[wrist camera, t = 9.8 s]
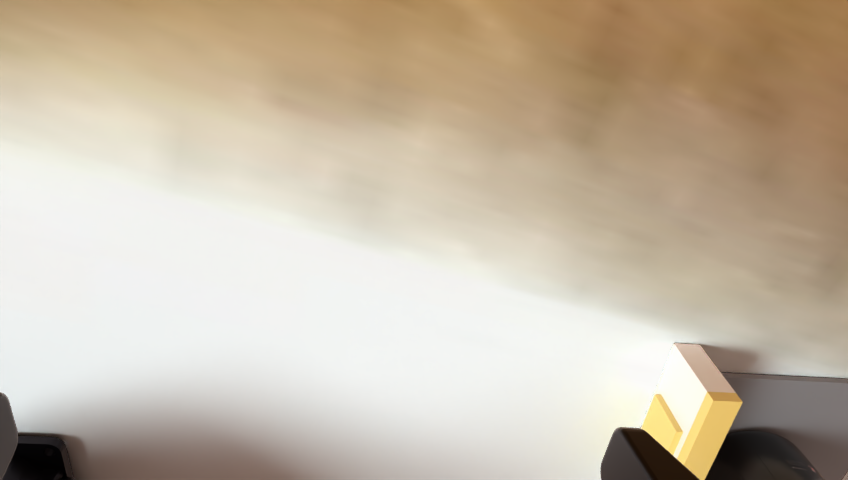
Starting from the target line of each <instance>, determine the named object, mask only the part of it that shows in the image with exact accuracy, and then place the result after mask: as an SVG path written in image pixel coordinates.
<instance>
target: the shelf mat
mask: <svg viewBox="0 0 848 480" xmlns="http://www.w3.org/2000/svg"><path fill="white" fill-rule="evenodd" d="M721 374H722V375H723V376H724V378H725V379H726V380H727V382H728V383H729V384H730V386H731V387H732V388H733V390H734V391H735V392H736V394H737V395H738V396H739V398H740V399H741V400H742V402H743V403H742V405H741V407H740V409H739V411H738V413H737V415H736V417H735V419H734V421H733V423H732V425H731V427H730V429H729V431H728V433H732V432H737V431H746V430H758V431H766V432H770V433H774V434H777V435H780V436H782V437H784V438H786V439H788V440H789V441H791V442H792V443H793V444H794V445H795V446H797V447H798V449H799V450H800V451H801V452H802V453H803V454H804V455H805V457H806V458H807V459H808V460H809V461H810V463H811V464H812V465H813V466H814V467H815V468H816V470H817V471H818V472H819V473H820V475H821V476H822V477H823V478H824V479H825V480H842V479H843V478H844V476H845V475H846V473H847V471H848V379H839V378H819V377H798V376H778V375H758V374H738V373H721ZM728 433H727V434H728Z"/></svg>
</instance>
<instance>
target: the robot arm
mask: <svg viewBox="0 0 848 480" xmlns="http://www.w3.org/2000/svg"><path fill="white" fill-rule="evenodd" d="M0 480H75V479H74V478H73V474H72V470H71V465H70V461H69V457H68V453H67V449H66V445H65V443H64V442H63V441H62V440H60V439H58V438H55V437H36V436H18V431H17V428H16V424H15V421H14V417H13V413H12V410H11V406H10V403H9V400H8V397H7V396H6V395H5V394H4V393H1V392H0ZM601 480H700V479H699V478H697V477H696V476H695V475H694V474H693V473H692V472H691V471H690V470H689V469H687V468H686V467H685V466H684V465H683V464H682V463H681V462H680V461H679V460H677V459H676V458H675V457H674V456H673V455H672V454H671V453H670V452H669V451H667V450H666V449H665V448H664V447H663V446H662V445H661V444H660V443H659V442H657V441H656V440H655V439H654V438H653V437H652V436H651V435H650V434H649V433H647V432H646V431H645V430H643V429H640V428H626V427H620V428H617V429H616V430H615V431H614V433H613V435H612V437H611V440H610V442H609V445H608V447H607V450H606V452H605V455H604V457H603V460H602V463H601Z"/></svg>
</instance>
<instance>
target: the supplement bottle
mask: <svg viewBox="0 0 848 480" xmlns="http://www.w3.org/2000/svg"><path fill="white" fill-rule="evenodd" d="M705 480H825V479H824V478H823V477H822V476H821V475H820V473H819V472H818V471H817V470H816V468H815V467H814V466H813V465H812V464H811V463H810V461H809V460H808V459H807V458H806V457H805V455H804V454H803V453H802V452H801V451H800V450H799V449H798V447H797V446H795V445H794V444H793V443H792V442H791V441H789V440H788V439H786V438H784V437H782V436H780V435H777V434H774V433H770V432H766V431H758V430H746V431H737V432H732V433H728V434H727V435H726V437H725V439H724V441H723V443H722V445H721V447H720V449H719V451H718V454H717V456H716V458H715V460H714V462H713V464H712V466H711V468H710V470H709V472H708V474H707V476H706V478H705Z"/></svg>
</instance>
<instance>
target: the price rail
mask: <svg viewBox="0 0 848 480" xmlns="http://www.w3.org/2000/svg"><path fill="white" fill-rule="evenodd" d="M742 403H743V402H742V400H741V399H740V398H739V396H738V395H737V394H736V392H735V391H734V390H733V388H732V387H731V386H730V384H729V383H728V382H727V380H726V379H725V378H724V376H723V375H722V374H721V372H720V371H719V370H718V368H717V367H716V366H715V364H714V363H713V362H712V360H711V359H710V358H709V356H708V355H707V354H706V352H705V351H704V350H703V348H702V347H701V346H700V345H698V344H680V343H674V344H673V346H672V349H671V351H670V354H669V357H668V359H667V362H666V364H665V367H664V369H663V372H662V374H661V377H660V379H659V382H658V385H657V387H656V390H655V392H654V395H653V397H652V400H651V402H650V405H649V408H648V410H647V413H646V415H645V418H644V420H643V423H642V425H641V428H640V429H643V430H645V431H646V432H647V433H649V434H650V435H651V436H652V437H653V438H654V439H655V440H656V441H657V442H659V443H660V444H661V445H662V446H663V447H664V448H665V449H666V450H667V451H669V452H670V453H671V454H672V455H673V456H674V457H675V458H676V459H677V460H679V461H680V462H681V463H682V464H683V465H684V466H685V467H686V468H687V469H689V470H690V471H691V472H692V473H693V474H694V475H695V476H696V477H697V478H699V479H700V480H705V478H706V476H707V474H708V472H709V470H710V468H711V466H712V464H713V462H714V460H715V458H716V456H717V454H718V451H719V449H720V447H721V445H722V443H723V441H724V439H725V437H726V435H727V433H728V431H729V429H730V427H731V425H732V423H733V421H734V419H735V417H736V415H737V413H738V411H739V409H740V407H741V405H742Z"/></svg>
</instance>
